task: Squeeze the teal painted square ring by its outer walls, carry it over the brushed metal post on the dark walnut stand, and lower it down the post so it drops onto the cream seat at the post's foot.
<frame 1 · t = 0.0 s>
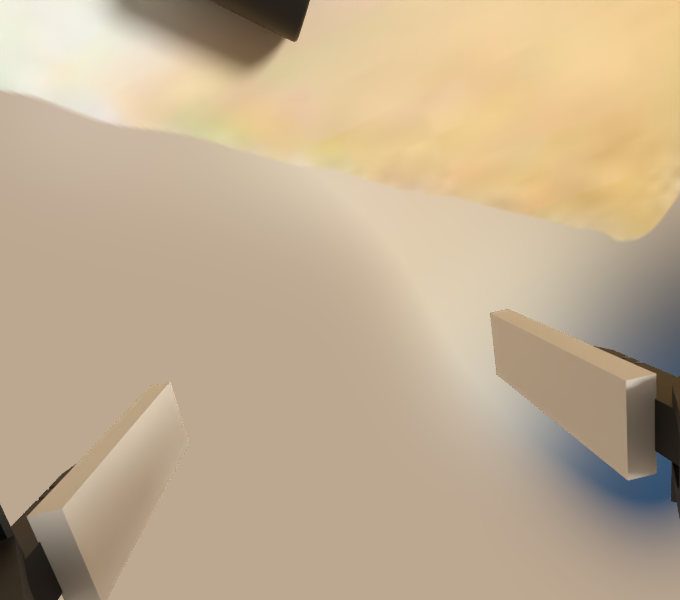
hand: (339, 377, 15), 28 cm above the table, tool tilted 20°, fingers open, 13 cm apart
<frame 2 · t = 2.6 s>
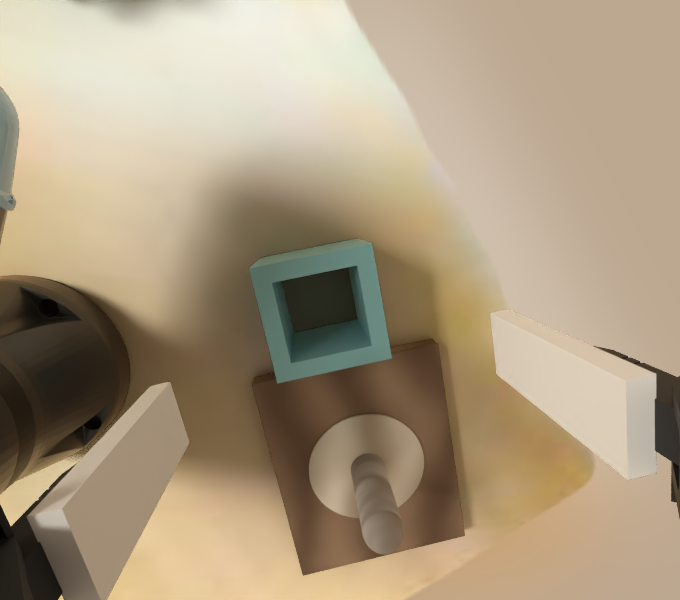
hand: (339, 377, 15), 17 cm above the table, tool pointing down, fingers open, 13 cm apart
teal ring: (319, 294, 31), on the table
post stand: (364, 455, 35), on the table
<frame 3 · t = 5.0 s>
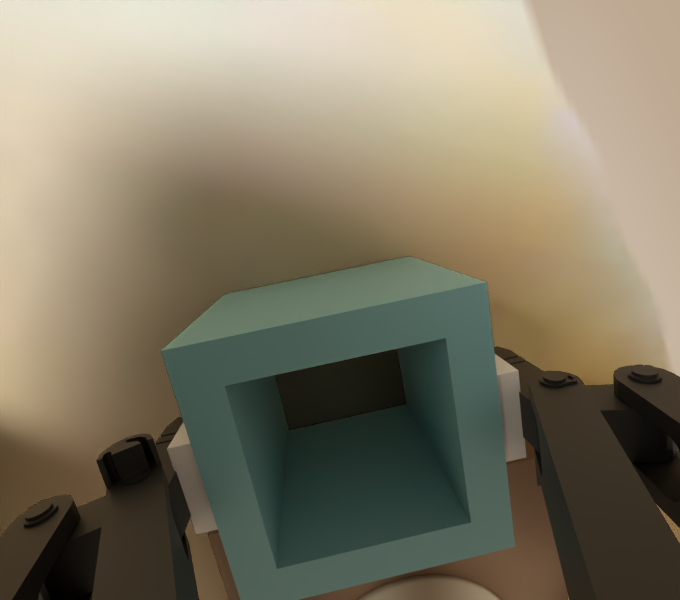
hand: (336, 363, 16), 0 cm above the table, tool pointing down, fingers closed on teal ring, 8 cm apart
teal ring: (336, 361, 17), on the table, touching gripper
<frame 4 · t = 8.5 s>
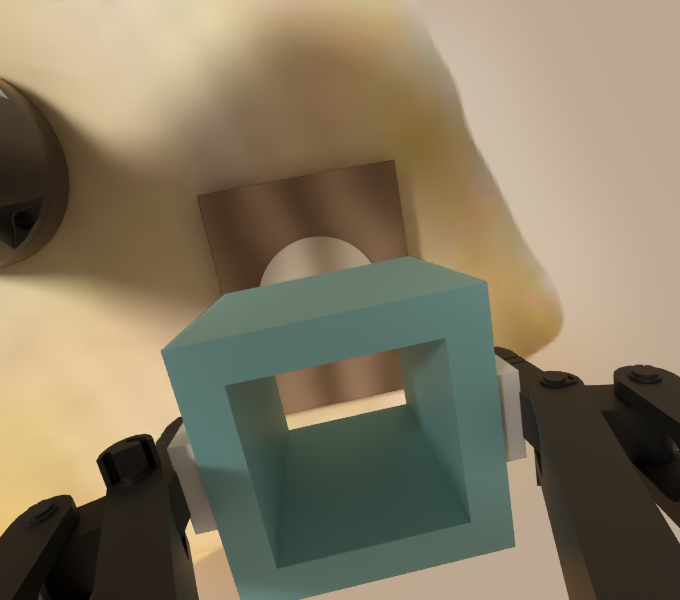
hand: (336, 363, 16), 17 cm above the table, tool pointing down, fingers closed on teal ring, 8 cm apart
teal ring: (336, 361, 17), point 17 cm above the table, touching gripper
post stand: (320, 294, 33), on the table
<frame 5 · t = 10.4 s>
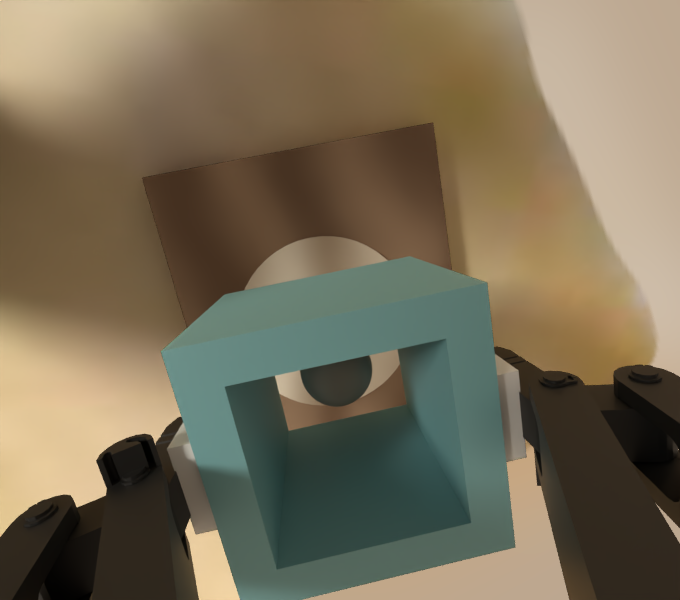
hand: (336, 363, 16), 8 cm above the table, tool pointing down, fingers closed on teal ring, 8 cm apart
teal ring: (336, 361, 17), point 7 cm above the table, touching gripper
post stand: (325, 317, 24), on the table
when the fingers open (3 cm above the table, at t = 12.2 s): teal ring stays where it is, resting on post stand.
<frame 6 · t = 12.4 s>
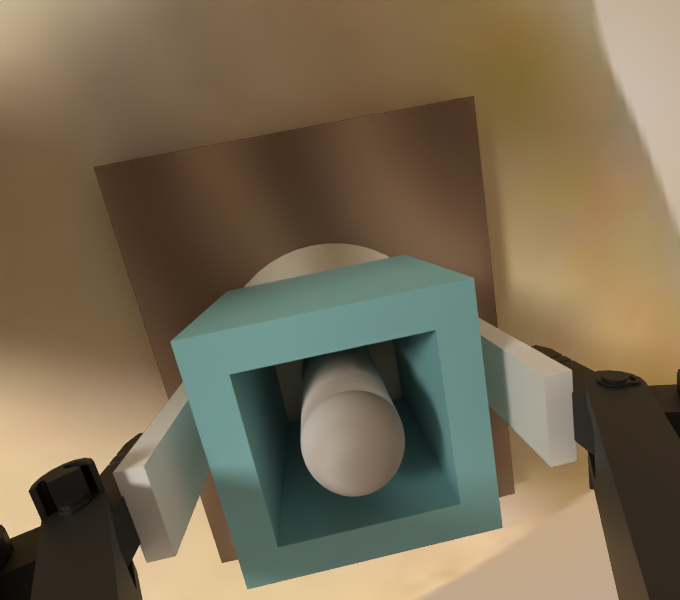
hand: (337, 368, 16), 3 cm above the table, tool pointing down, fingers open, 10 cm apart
teal ring: (334, 356, 17), point 2 cm above the table, touching post stand
post stand: (332, 343, 19), on the table
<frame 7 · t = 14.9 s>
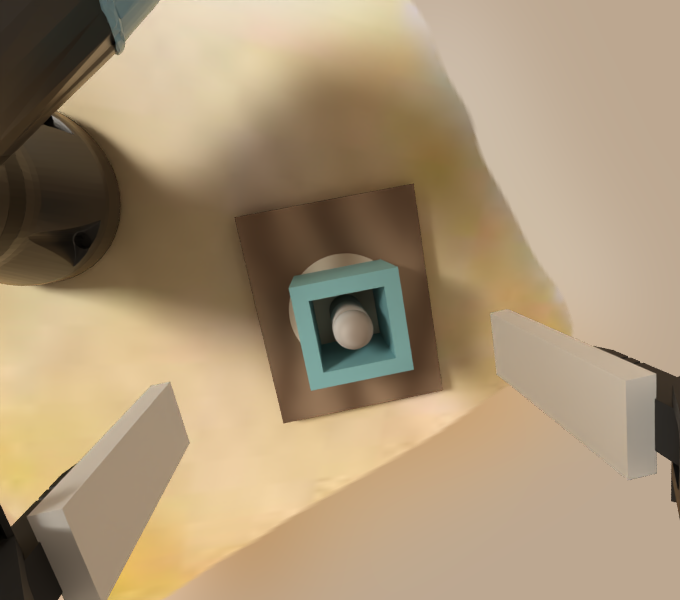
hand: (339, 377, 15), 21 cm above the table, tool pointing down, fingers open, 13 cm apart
teal ring: (345, 310, 34), point 2 cm above the table, touching post stand
post stand: (344, 306, 36), on the table
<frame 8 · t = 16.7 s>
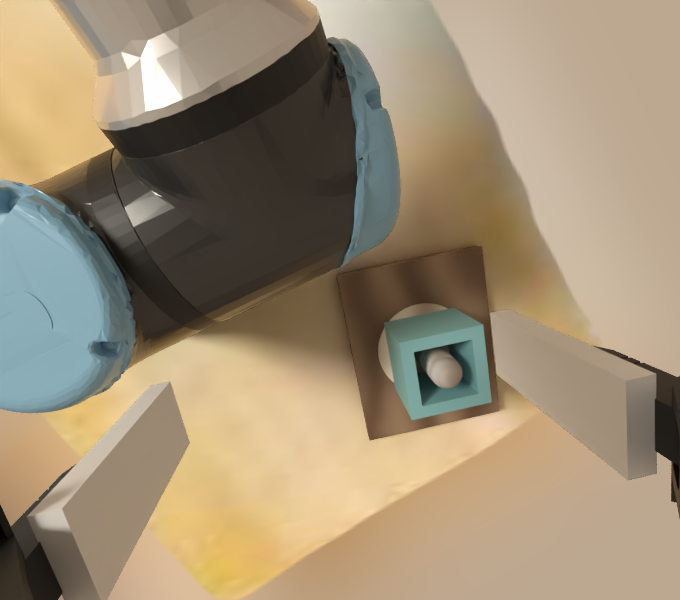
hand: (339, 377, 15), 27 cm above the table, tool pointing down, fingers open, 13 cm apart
teal ring: (424, 348, 42), point 2 cm above the table, touching post stand
post stand: (419, 343, 44), on the table
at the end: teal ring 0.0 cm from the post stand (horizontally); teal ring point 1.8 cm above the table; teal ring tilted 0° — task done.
